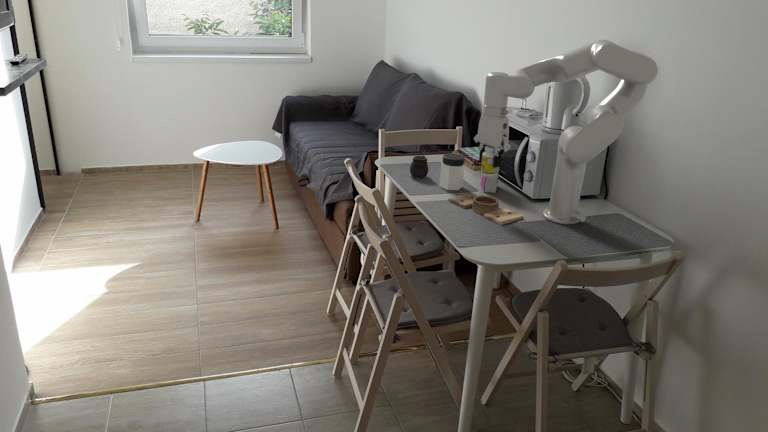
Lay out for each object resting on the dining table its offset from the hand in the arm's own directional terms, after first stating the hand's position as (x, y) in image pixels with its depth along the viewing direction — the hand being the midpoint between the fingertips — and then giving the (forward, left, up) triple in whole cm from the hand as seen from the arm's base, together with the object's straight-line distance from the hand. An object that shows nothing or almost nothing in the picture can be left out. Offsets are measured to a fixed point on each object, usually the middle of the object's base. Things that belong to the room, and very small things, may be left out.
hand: (489, 164), depth 214 cm
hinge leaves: (0, -1, -17) cm, 17 cm away
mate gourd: (+38, -4, -17) cm, 42 cm away
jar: (+23, -7, -17) cm, 30 cm away
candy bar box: (+15, -19, -17) cm, 30 cm away
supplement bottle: (0, 0, -4) cm, 4 cm away
